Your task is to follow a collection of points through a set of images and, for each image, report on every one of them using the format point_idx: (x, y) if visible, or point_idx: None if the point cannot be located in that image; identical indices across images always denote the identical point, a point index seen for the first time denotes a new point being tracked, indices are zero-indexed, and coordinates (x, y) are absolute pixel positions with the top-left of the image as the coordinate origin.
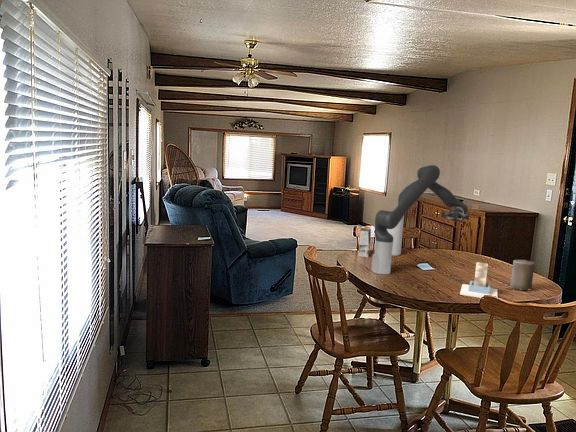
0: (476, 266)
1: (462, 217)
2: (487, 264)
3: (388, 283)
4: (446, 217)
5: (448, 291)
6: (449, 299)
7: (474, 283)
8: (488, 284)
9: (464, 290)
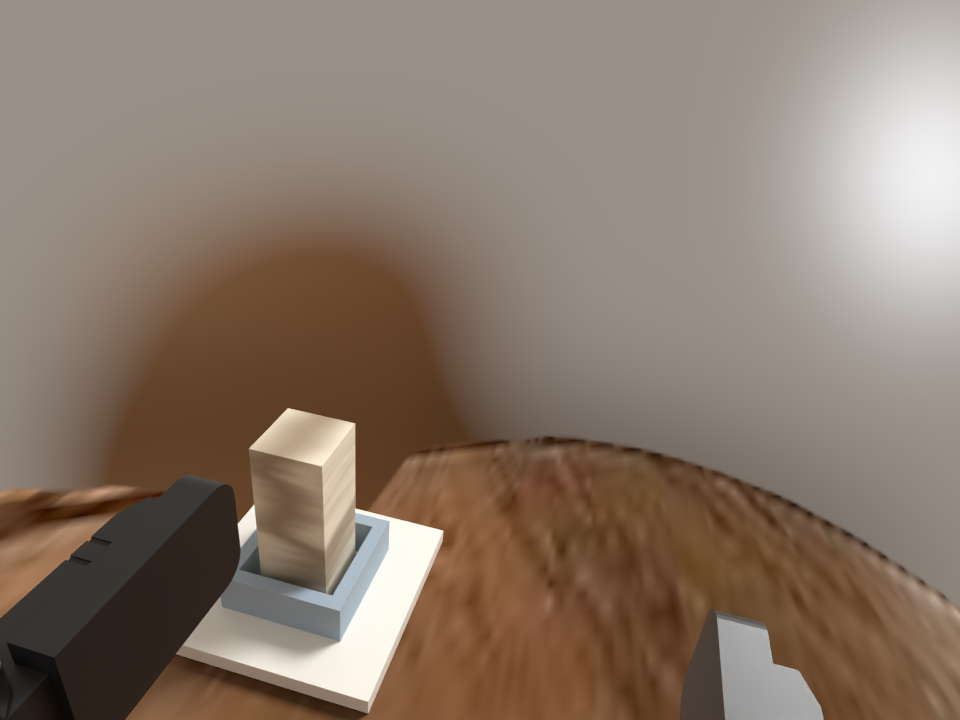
0: (352, 436)
1: (228, 508)
2: (270, 429)
3: (860, 640)
4: (687, 715)
5: (497, 576)
6: (512, 473)
7: (353, 525)
8: (244, 557)
9: (408, 559)
